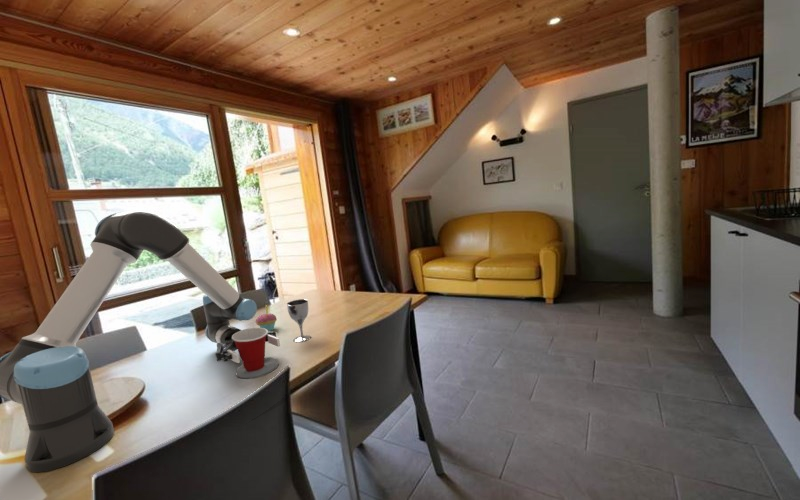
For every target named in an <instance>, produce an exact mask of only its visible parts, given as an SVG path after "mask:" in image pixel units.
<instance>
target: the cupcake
mask: <svg viewBox="0 0 800 500" xmlns="http://www.w3.org/2000/svg"><path fill="white" fill-rule="evenodd" d="M276 322H277V316H276V314H273V313H269V312H268V304H267V303H266V305H265V313H263V314H261V315H259V316H258V317H257V318H256V320H255V324H256V325H257V326H258V327H259V328H265V329H267V330H268V331H271V332H272V331H273V330H275V329H274V328H275V325H276Z"/></svg>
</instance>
